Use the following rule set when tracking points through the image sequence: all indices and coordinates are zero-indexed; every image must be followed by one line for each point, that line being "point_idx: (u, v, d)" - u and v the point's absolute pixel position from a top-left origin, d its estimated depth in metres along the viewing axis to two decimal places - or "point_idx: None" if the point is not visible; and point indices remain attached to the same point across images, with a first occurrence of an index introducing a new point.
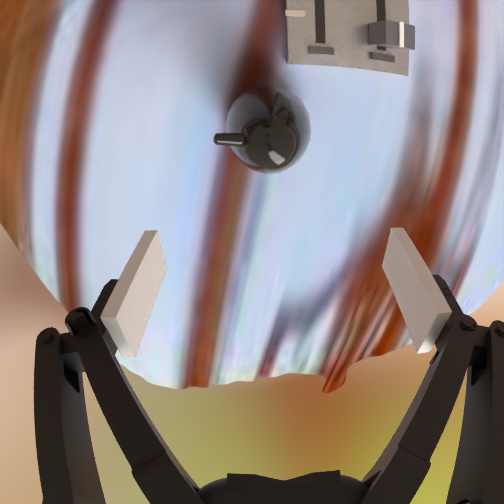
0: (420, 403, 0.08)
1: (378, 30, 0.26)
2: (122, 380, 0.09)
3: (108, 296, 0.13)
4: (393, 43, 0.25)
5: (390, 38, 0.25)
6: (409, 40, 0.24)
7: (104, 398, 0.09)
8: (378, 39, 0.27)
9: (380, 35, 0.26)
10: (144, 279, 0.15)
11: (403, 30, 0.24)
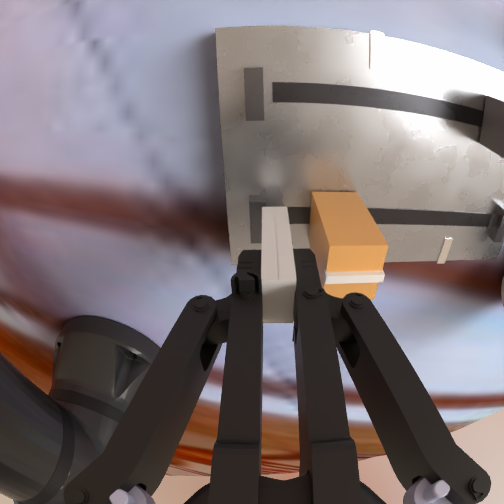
0: (305, 391, 0.09)
1: None
2: (259, 357, 0.10)
3: (249, 264, 0.15)
4: None
5: None
6: None
7: (232, 365, 0.10)
8: None
9: None
10: None
11: None
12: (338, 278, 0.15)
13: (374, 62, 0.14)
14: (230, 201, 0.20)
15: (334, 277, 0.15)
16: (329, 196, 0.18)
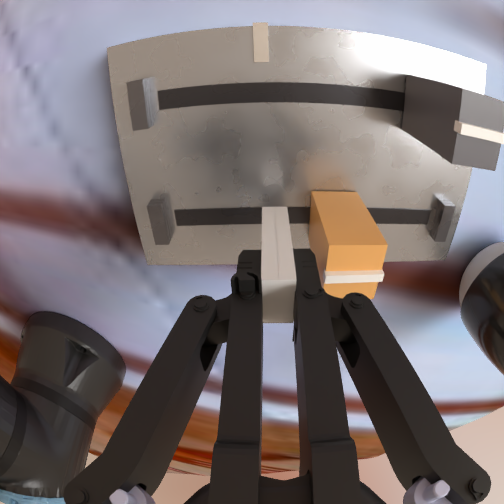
0: (305, 391, 0.09)
1: None
2: (259, 357, 0.10)
3: (248, 264, 0.15)
4: (496, 153, 0.11)
5: (487, 159, 0.11)
6: (492, 111, 0.10)
7: (232, 365, 0.10)
8: None
9: None
10: None
11: (476, 126, 0.10)
12: (338, 277, 0.15)
13: (259, 55, 0.14)
14: (136, 205, 0.20)
15: (334, 277, 0.15)
16: (328, 195, 0.19)
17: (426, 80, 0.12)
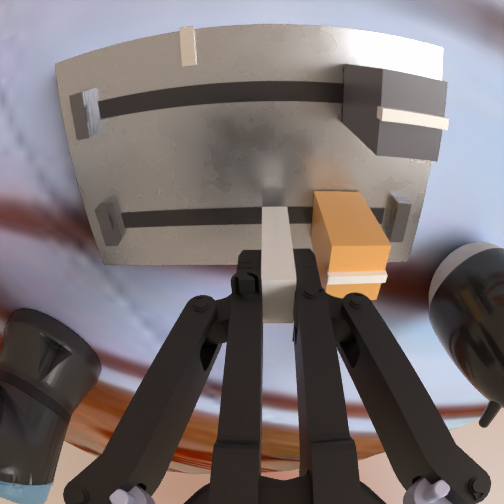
0: (305, 391, 0.09)
1: None
2: (259, 357, 0.10)
3: (248, 264, 0.15)
4: (436, 141, 0.11)
5: (425, 148, 0.11)
6: (426, 93, 0.10)
7: (232, 365, 0.10)
8: None
9: None
10: None
11: (404, 110, 0.10)
12: (341, 278, 0.15)
13: (187, 59, 0.14)
14: (88, 209, 0.20)
15: (336, 278, 0.15)
16: (331, 195, 0.18)
17: (357, 67, 0.12)
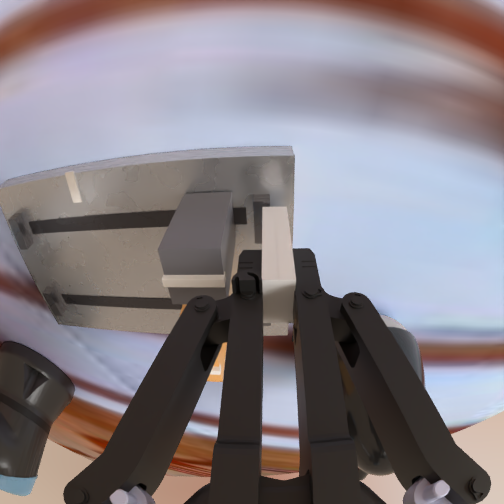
0: (305, 391, 0.09)
1: None
2: (260, 357, 0.10)
3: (249, 264, 0.15)
4: (221, 292, 0.16)
5: (212, 297, 0.16)
6: (200, 260, 0.14)
7: (233, 365, 0.10)
8: None
9: None
10: None
11: (181, 277, 0.15)
12: None
13: (76, 196, 0.19)
14: (40, 289, 0.25)
15: None
16: None
17: (174, 215, 0.17)
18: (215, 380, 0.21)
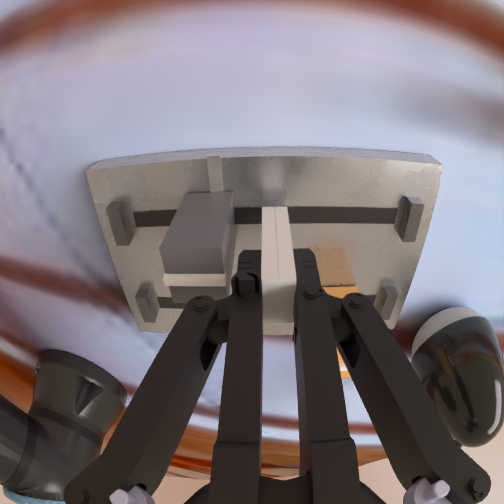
0: (305, 391, 0.09)
1: None
2: (259, 357, 0.10)
3: (248, 264, 0.15)
4: (222, 291, 0.16)
5: (212, 296, 0.16)
6: (201, 259, 0.15)
7: (232, 365, 0.10)
8: None
9: None
10: None
11: (182, 276, 0.15)
12: None
13: (214, 185, 0.19)
14: (126, 292, 0.25)
15: None
16: (333, 292, 0.23)
17: (175, 214, 0.17)
18: None
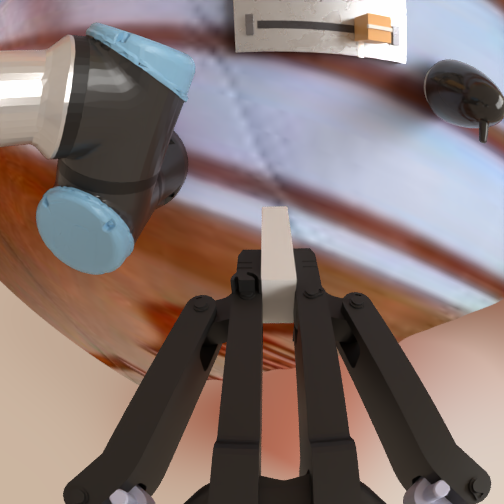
0: (305, 391, 0.09)
1: None
2: (259, 357, 0.10)
3: (248, 264, 0.15)
4: None
5: None
6: None
7: (232, 365, 0.10)
8: None
9: None
10: None
11: None
12: (373, 25, 0.26)
13: None
14: (236, 18, 0.32)
15: (372, 25, 0.26)
16: None
17: None
18: (386, 42, 0.28)
